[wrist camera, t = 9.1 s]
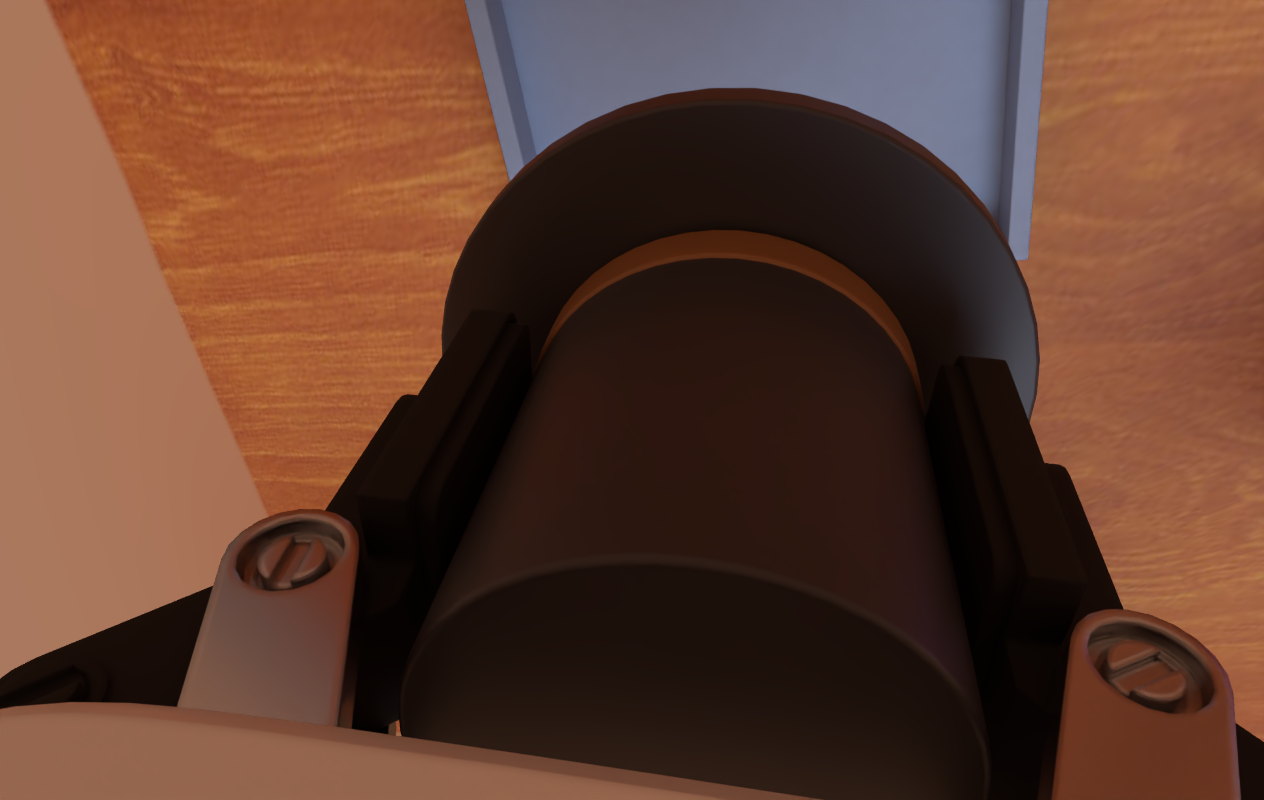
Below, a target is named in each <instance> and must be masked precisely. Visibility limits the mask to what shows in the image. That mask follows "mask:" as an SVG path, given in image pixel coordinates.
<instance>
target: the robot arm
mask: <svg viewBox="0 0 1264 800" xmlns="http://www.w3.org/2000/svg"><path fill="white" fill-rule="evenodd" d="M531 382H532V364H531V343H530V330H529V326H528V325H527V324H518V323H517V319H516V316H515V314H514V313H512V312H502V311H491V310H481V309H473V310H472V311H471V312H470V313H469V315H468V316H467V318H466V319H465V321H464V323H463V324H462V326H461V327H460V329H459V330H458V332H457V334H456V335H455V337H454V338H453V340H452V342H451V343H450V345H449V346H448V348H447V350H446V351H445V353H444V354H443V356H442V358H441V359H440V361H439V362H438V364H437V365H436V367H435V369H434V370H433V372H432V373H431V375H430V377H429V378H428V380H427V381H426V383H425V385H424V386H423V388H422V389H421V391H420V393H419V394H418V395H409V394H407V395H404V396H401V398H400V399H399V400H398V401H397V402H396V403H395V405H394V406H393V408H392V409H391V411H390V412H389V414H388V416H387V417H386V419H385V420H384V422H383V423H382V425H381V426H380V428H379V429H378V431H377V432H376V434H375V435H374V437H373V438H372V440H371V441H370V443H369V444H368V446H367V448H366V449H365V451H364V452H363V454H362V455H361V457H360V458H359V460H358V461H357V463H356V464H355V466H354V467H353V469H352V470H351V472H350V473H349V475H348V476H347V478H346V479H345V481H344V483H343V484H342V486H341V487H340V489H339V490H338V492H337V493H336V495H335V496H334V498H333V499H332V501H331V502H330V504H329V505H328V507H327V508H326V510H325V511H324V510H320V509H298V510H293V511H287V512H282V513H278V514H275V515H273V516H270V517H268V518H265V519H262V520H260V521H258V522H256V523H255V524H253V525H252V526H250V527H248V528H247V529H245V530H244V531H242V532H241V533H240V534H239V535H238V536H237V537H236V538H235V539H234V540H233V541H232V542H231V543H230V544H229V546H228V548H227V549H226V552H225V553H224V555H223V557H222V559H221V562H220V565H219V568H218V572H217V575H216V578H215V582H214V585H213V586H211V587H209V588H206V589H204V590H201V591H199V592H196V593H194V594H192V595H189V596H187V597H184V598H182V599H179V600H177V601H174V602H172V603H169V604H167V605H164V606H162V607H160V608H157V609H155V610H152V611H150V612H147V613H145V614H142V615H140V616H137V617H135V618H133V619H130V620H128V621H125V622H123V623H120V624H118V625H115V626H113V627H111V628H108V629H106V630H103V631H101V632H98V633H96V634H93V635H91V636H89V637H86V638H83V639H81V640H79V641H76V642H74V643H71V644H69V645H66V646H64V647H61V648H59V649H57V650H54V651H52V652H49V653H47V654H44V655H42V656H39V657H37V658H35V659H33V660H31V661H29V662H27V663H25V664H23V665H21V666H19V667H17V668H15V669H13V670H11V671H10V672H9V673H7V674H6V675H5V676H3V677H2V678H1V679H0V800H821V799H815V798H808V797H802V796H795V795H789V794H782V793H776V792H769V791H763V790H756V789H749V788H743V787H736V786H730V785H723V784H717V783H710V782H704V781H697V780H691V779H684V778H678V777H671V776H664V775H658V774H651V773H645V772H638V771H631V770H625V769H618V768H612V767H605V766H598V765H592V764H585V763H579V762H572V761H565V760H559V759H552V758H545V757H539V756H532V755H525V754H518V753H512V752H505V751H498V750H491V749H484V748H477V747H471V746H464V745H457V744H450V743H443V742H437V741H430V740H423V739H416V738H409V737H402V736H396V722H395V721H397V720H399V712H398V696H399V687H400V679H401V676H402V673H403V670H404V667H405V664H406V661H407V658H408V656H409V653H410V651H411V649H412V647H413V644H414V642H415V640H416V638H417V635H418V633H419V631H420V629H421V627H422V624H423V622H424V620H425V618H426V615H427V613H428V611H429V609H430V607H431V604H432V602H433V600H434V598H435V595H436V593H437V591H438V589H439V587H440V584H441V582H442V580H443V578H444V575H445V573H446V571H447V569H448V567H449V564H450V562H451V560H452V558H453V555H454V553H455V551H456V549H457V547H458V544H459V542H460V540H461V538H462V535H463V533H464V531H465V529H466V526H467V524H468V522H469V520H470V518H471V515H472V513H473V511H474V509H475V506H476V504H477V502H478V500H479V498H480V495H481V493H482V491H483V489H484V486H485V484H486V482H487V480H488V478H489V475H490V473H491V471H492V469H493V466H494V464H495V462H496V460H497V458H498V455H499V453H500V451H501V449H502V446H503V444H504V442H505V440H506V438H507V435H508V433H509V431H510V429H511V426H512V424H513V422H514V420H515V417H516V415H517V413H518V411H519V409H520V406H521V404H522V402H523V400H524V397H525V395H526V393H527V391H528V389H529V386H530V384H531ZM925 429H926V434H927V439H928V444H929V449H930V454H931V459H932V464H933V468H934V473H935V478H936V483H937V488H938V493H939V498H940V503H941V508H942V512H943V517H944V522H945V527H946V532H947V537H948V542H949V547H950V552H951V556H952V561H953V566H954V571H955V576H956V581H957V586H958V591H959V596H960V600H961V605H962V610H963V615H964V620H965V625H966V630H967V635H968V640H969V644H970V649H971V654H972V659H973V664H974V669H975V674H976V679H977V684H978V688H979V693H980V698H981V703H982V708H983V713H984V718H985V723H986V728H987V732H988V737H989V743H990V750H991V756H992V763H993V769H992V782H991V791H990V795H989V798H988V800H1264V742H1263V741H1261V740H1260V739H1258V738H1257V737H1255V736H1254V735H1252V734H1251V733H1250V732H1248V731H1247V730H1245V729H1244V728H1242V727H1241V726H1239V725H1238V724H1236V723H1235V711H1234V697H1233V691H1232V687H1231V684H1230V681H1229V677H1228V674H1227V673H1226V671H1225V670H1224V668H1223V667H1222V666H1221V664H1220V663H1219V661H1218V660H1217V658H1216V657H1215V656H1214V655H1213V654H1212V653H1211V652H1210V651H1209V650H1208V649H1207V648H1206V647H1205V646H1204V645H1203V644H1201V643H1200V642H1199V641H1198V640H1197V639H1196V638H1194V637H1193V636H1191V635H1190V634H1188V633H1186V632H1185V631H1183V630H1182V629H1180V628H1179V627H1177V626H1175V625H1173V624H1171V623H1169V622H1166V621H1164V620H1162V619H1159V618H1157V617H1154V616H1152V615H1149V614H1144V613H1140V612H1136V611H1131V610H1124V609H1123V607H1122V604H1121V602H1120V599H1119V597H1118V594H1117V592H1116V589H1115V587H1114V584H1113V582H1112V579H1111V577H1110V574H1109V572H1108V569H1107V567H1106V564H1105V562H1104V559H1103V557H1102V554H1101V552H1100V550H1099V547H1098V545H1097V542H1096V540H1095V537H1094V535H1093V532H1092V530H1091V527H1090V525H1089V522H1088V520H1087V517H1086V515H1085V512H1084V510H1083V507H1082V505H1081V502H1080V500H1079V497H1078V495H1077V492H1076V490H1075V487H1074V485H1073V482H1072V480H1071V477H1070V475H1069V473H1068V472H1067V470H1066V468H1065V467H1063V466H1061V465H1058V464H1049V463H1044V461H1043V458H1042V455H1041V453H1040V450H1039V447H1038V445H1037V442H1036V439H1035V436H1034V434H1033V431H1032V428H1031V426H1030V423H1029V420H1028V418H1027V415H1026V412H1025V409H1024V407H1023V404H1022V401H1021V399H1020V396H1019V393H1018V390H1017V388H1016V385H1015V382H1014V380H1013V377H1012V374H1011V372H1010V369H1009V366H1008V364H1007V362H1006V360H1002V359H992V358H982V357H971V356H961V355H960V356H959V357H958V358H957V360H956V361H955V364H954V366H950V365H941V366H940V368H939V370H938V373H937V377H936V381H935V385H934V388H933V392H932V396H931V400H930V404H929V408H928V412H927V416H926V419H925Z"/></svg>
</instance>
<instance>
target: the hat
mask: <svg viewBox="0 0 1264 800" xmlns="http://www.w3.org/2000/svg"><path fill="white" fill-rule="evenodd" d="M473 309H481V310H491V311H502V312H512V313H514V314H515V316H516V319H517V323H518V324H527V325H528V326H529V330H530V343H531V364H532V382H531V384H530V386H529V389H528V391H527V393H526V395H525V397H524V400H523V402H522V404H521V406H520V409H519V411H518V413H517V415H516V417H515V420H514V422H513V424H512V426H511V429H510V431H509V433H508V435H507V438H506V440H505V442H504V444H503V446H502V449H501V451H500V453H499V455H498V458H497V460H496V462H495V464H494V466H493V469H492V471H491V473H490V475H489V478H488V480H487V482H486V484H485V486H484V489H483V491H482V493H481V495H480V498H479V500H478V502H477V504H476V506H475V509H474V511H473V513H472V515H471V518H470V520H469V522H468V524H467V526H466V529H465V531H464V533H463V535H462V538H461V540H460V542H459V544H458V547H457V549H456V551H455V553H454V555H453V558H452V560H451V562H450V564H449V567H448V569H447V571H446V573H445V575H444V578H443V580H442V582H441V584H440V587H439V589H438V591H437V593H436V595H435V598H434V600H433V602H432V604H431V607H430V609H429V611H428V613H427V615H426V618H425V620H424V622H423V624H422V627H421V629H420V631H419V633H418V635H417V638H416V640H415V642H414V644H413V647H412V649H411V651H410V653H409V656H408V658H407V661H406V664H405V667H404V670H403V673H402V676H401V679H400V687H399V696H398V712H399V722H400V732H401V735H402V737H409V738H416V739H423V740H430V741H437V742H443V743H450V744H457V745H464V746H471V747H477V748H484V749H491V750H498V751H505V752H512V753H518V754H525V755H532V756H539V757H545V758H552V759H559V760H565V761H572V762H579V763H585V764H592V765H598V766H605V767H612V768H618V769H625V770H631V771H638V772H645V773H651V774H658V775H664V776H671V777H678V778H684V779H691V780H697V781H704V782H710V783H717V784H723V785H730V786H736V787H743V788H749V789H756V790H763V791H769V792H776V793H782V794H789V795H795V796H802V797H808V798H815V799H821V800H988V798H989V795H990V791H991V782H992V769H993V763H992V756H991V750H990V743H989V737H988V732H987V728H986V723H985V718H984V713H983V708H982V703H981V698H980V693H979V688H978V684H977V679H976V674H975V669H974V664H973V659H972V654H971V649H970V644H969V640H968V635H967V630H966V625H965V620H964V615H963V610H962V605H961V600H960V596H959V591H958V586H957V581H956V576H955V571H954V566H953V561H952V556H951V552H950V547H949V542H948V537H947V532H946V527H945V522H944V517H943V512H942V508H941V503H940V498H939V493H938V488H937V483H936V478H935V473H934V468H933V464H932V459H931V454H930V449H929V444H928V439H927V434H926V429H925V419H926V416H927V412H928V408H929V404H930V400H931V396H932V392H933V388H934V385H935V381H936V377H937V373H938V370H939V368H940V366H941V365H950V366H954V364H955V361H956V360H957V358H958V357H959V356H960V355H961V356H971V357H982V358H992V359H1002V360H1006V362H1007V364H1008V366H1009V369H1010V372H1011V374H1012V377H1013V380H1014V382H1015V385H1016V388H1017V390H1018V393H1019V396H1020V399H1021V401H1022V404H1023V407H1024V409H1025V412H1026V415H1027V418H1028V420H1029V423H1030V419H1031V415H1032V411H1033V407H1034V403H1035V399H1036V395H1037V386H1038V375H1039V363H1040V355H1039V343H1038V330H1037V322H1036V318H1035V314H1034V310H1033V306H1032V302H1031V298H1030V294H1029V290H1028V287H1027V284H1026V282H1025V280H1024V278H1023V275H1022V273H1021V271H1020V268H1019V266H1018V264H1017V262H1016V259H1015V257H1014V255H1013V252H1012V250H1011V248H1010V246H1009V244H1008V242H1007V240H1006V238H1005V236H1004V234H1003V233H1002V231H1001V230H1000V228H999V227H998V225H997V223H996V222H995V220H994V219H993V217H992V216H991V214H990V213H989V211H988V210H987V208H986V206H985V205H984V203H983V202H982V201H981V200H980V199H979V198H978V197H977V196H976V194H975V193H974V192H973V191H972V190H971V189H970V188H969V187H968V186H967V184H966V183H965V182H964V181H963V180H962V179H961V178H960V177H959V175H958V174H957V173H956V172H954V171H953V170H952V169H951V168H950V167H948V166H947V165H946V164H945V163H944V162H942V161H941V160H940V159H939V158H937V157H936V156H935V155H934V154H933V153H931V152H930V151H929V150H928V149H927V148H925V147H924V146H923V145H921V144H919V143H918V142H916V141H914V140H913V139H911V138H909V137H908V136H906V135H905V134H903V133H901V132H900V131H898V130H896V129H895V128H893V127H891V126H890V125H888V124H886V123H884V122H882V121H879V120H877V119H875V118H872V117H870V116H868V115H865V114H863V113H861V112H858V111H856V110H854V109H851V108H849V107H847V106H844V105H840V104H836V103H833V102H829V101H826V100H822V99H818V98H815V97H811V96H807V95H804V94H798V93H791V92H783V91H776V90H768V89H761V88H707V89H699V90H692V91H685V92H677V93H670V94H665V95H661V96H657V97H654V98H650V99H647V100H643V101H639V102H636V103H632V104H629V105H625V106H623V107H620V108H618V109H616V110H613V111H611V112H609V113H606V114H604V115H602V116H599V117H597V118H595V119H593V120H590V121H588V122H586V123H584V124H583V125H581V126H579V127H578V128H576V129H574V130H573V131H571V132H569V133H568V134H566V135H565V136H563V137H561V138H560V139H558V140H556V141H555V142H553V143H552V144H550V145H549V146H548V147H547V148H546V149H544V150H543V151H542V152H541V153H540V154H538V155H537V156H536V157H535V158H534V159H532V160H531V161H530V162H529V163H528V164H526V165H525V166H524V167H523V168H522V169H521V170H520V171H519V172H518V173H517V174H516V175H515V177H514V178H513V179H512V180H511V181H510V182H509V183H508V184H507V185H506V187H505V188H504V189H503V190H502V191H501V192H500V193H499V194H498V196H497V197H496V198H495V200H494V201H493V202H492V204H491V205H490V206H489V208H488V209H487V211H486V212H485V214H484V215H483V217H482V218H481V220H480V221H479V223H478V224H477V226H476V228H475V229H474V231H473V232H472V234H471V235H470V237H469V238H468V240H467V242H466V245H465V247H464V249H463V251H462V254H461V256H460V258H459V260H458V262H457V265H456V267H455V269H454V272H453V276H452V279H451V283H450V287H449V290H448V294H447V298H446V301H445V308H444V317H443V326H442V356H443V354H444V353H445V351H446V350H447V348H448V346H449V345H450V343H451V342H452V340H453V338H454V337H455V335H456V334H457V332H458V330H459V329H460V327H461V326H462V324H463V323H464V321H465V319H466V318H467V316H468V315H469V313H470V312H471V311H472V310H473Z"/></svg>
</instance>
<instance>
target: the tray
mask: <svg viewBox="0 0 1264 800" xmlns="http://www.w3.org/2000/svg"><path fill="white" fill-rule="evenodd" d="M465 4H466V8H467V12H468V17H469V21H470V25H471V29H472V33H473V37H474V41H475V45H476V49H477V53H478V57H479V61H480V65H481V69H482V73H483V77H484V81H485V85H486V89H487V93H488V97H489V101H490V105H491V109H492V113H493V117H494V121H495V125H496V129H497V133H498V137H499V141H500V145H501V149H502V153H503V157H504V161H505V165H506V169H507V173H508V177H509V181H511V180H512V179H513V178H514V177H515V175H516V174H517V173H518V172H519V171H520V170H521V169H522V168H523V167H524V166H525V165H526V164H528V163H529V162H530V161H531V160H532V159H534V158H535V157H536V156H537V155H538V154H540V153H541V152H542V151H543V150H544V149H546V148H547V147H548V146H549V145H550V144H552V143H553V142H555V141H556V140H558V139H560V138H561V137H563V136H565V135H566V134H568V133H569V132H571V131H573V130H574V129H576V128H578V127H579V126H581V125H583V124H584V123H586V122H588V121H590V120H593V119H595V118H597V117H599V116H602V115H604V114H606V113H609V112H611V111H613V110H616V109H618V108H620V107H623V106H625V105H629V104H632V103H636V102H639V101H643V100H647V99H650V98H654V97H657V96H661V95H665V94H670V93H677V92H685V91H692V90H699V89H707V88H761V89H768V90H776V91H783V92H791V93H798V94H804V95H807V96H811V97H815V98H818V99H822V100H826V101H829V102H833V103H836V104H840V105H844V106H847V107H849V108H851V109H854V110H856V111H858V112H861V113H863V114H865V115H868V116H870V117H872V118H875V119H877V120H879V121H882V122H884V123H886V124H888V125H890V126H891V127H893V128H895V129H896V130H898V131H900V132H901V133H903V134H905V135H906V136H908V137H909V138H911V139H913V140H914V141H916V142H918V143H919V144H921V145H923V146H924V147H925V148H927V149H928V150H929V151H930V152H931V153H933V154H934V155H935V156H936V157H937V158H939V159H940V160H941V161H942V162H944V163H945V164H946V165H947V166H948V167H950V168H951V169H952V170H953V171H954V172H956V173H957V174H958V175H959V177H960V178H961V179H962V180H963V181H964V182H965V183H966V184H967V186H968V187H969V188H970V189H971V190H972V191H973V192H974V193H975V194H976V196H977V197H978V198H979V199H980V200H981V201H982V202H983V203H984V205H985V206H986V208H987V210H988V211H989V213H990V214H991V216H992V217H993V219H994V220H995V222H996V223H997V225H998V227H999V228H1000V230H1001V231H1002V233H1003V234H1004V236H1005V238H1006V240H1007V242H1008V244H1009V246H1010V248H1011V250H1012V252H1013V255H1014V257H1015V259H1016V260H1027V259H1028V254H1029V241H1030V229H1031V216H1032V203H1033V190H1034V178H1035V165H1036V152H1037V140H1038V127H1039V114H1040V101H1041V89H1042V76H1043V63H1044V51H1045V38H1046V25H1047V12H1048V0H465Z"/></svg>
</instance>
